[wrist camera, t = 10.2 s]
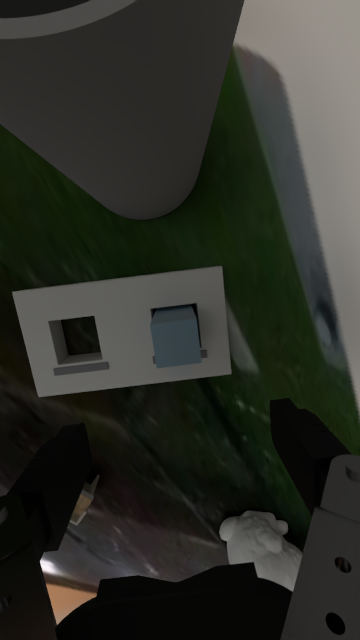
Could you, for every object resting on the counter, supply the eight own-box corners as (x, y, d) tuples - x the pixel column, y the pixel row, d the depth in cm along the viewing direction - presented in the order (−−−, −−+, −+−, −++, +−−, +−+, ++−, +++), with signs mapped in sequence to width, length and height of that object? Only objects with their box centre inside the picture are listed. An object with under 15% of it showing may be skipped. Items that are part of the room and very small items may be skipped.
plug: (156, 307, 32) (149, 324, 23) (190, 303, 32) (196, 318, 23) (163, 350, 33) (159, 383, 24) (196, 346, 33) (203, 377, 24)
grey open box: (62, 438, 36) (31, 488, 28) (107, 463, 37) (88, 518, 29) (48, 460, 37) (13, 515, 29) (92, 484, 37) (70, 543, 30)
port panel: (27, 289, 31) (10, 292, 28) (217, 265, 31) (222, 266, 28) (50, 385, 34) (37, 398, 31) (226, 364, 34) (231, 375, 30)
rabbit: (305, 521, 39) (362, 633, 27) (275, 569, 40) (316, 694, 29) (228, 494, 38) (252, 599, 26) (201, 545, 39) (212, 665, 28)
